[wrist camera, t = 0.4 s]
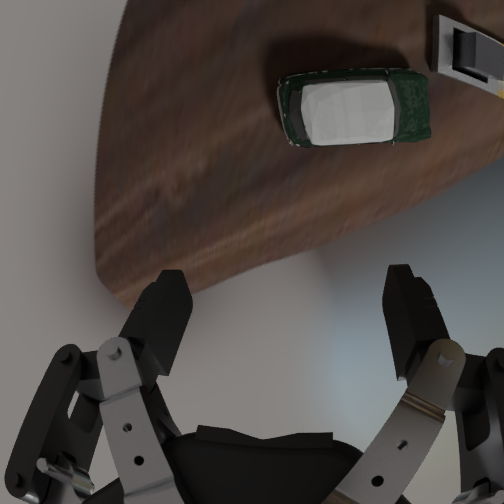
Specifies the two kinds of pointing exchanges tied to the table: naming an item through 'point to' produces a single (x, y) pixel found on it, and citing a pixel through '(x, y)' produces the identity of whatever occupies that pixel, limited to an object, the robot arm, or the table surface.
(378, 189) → the table surface
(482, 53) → the grey block
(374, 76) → the miniature car
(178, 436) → the robot arm
